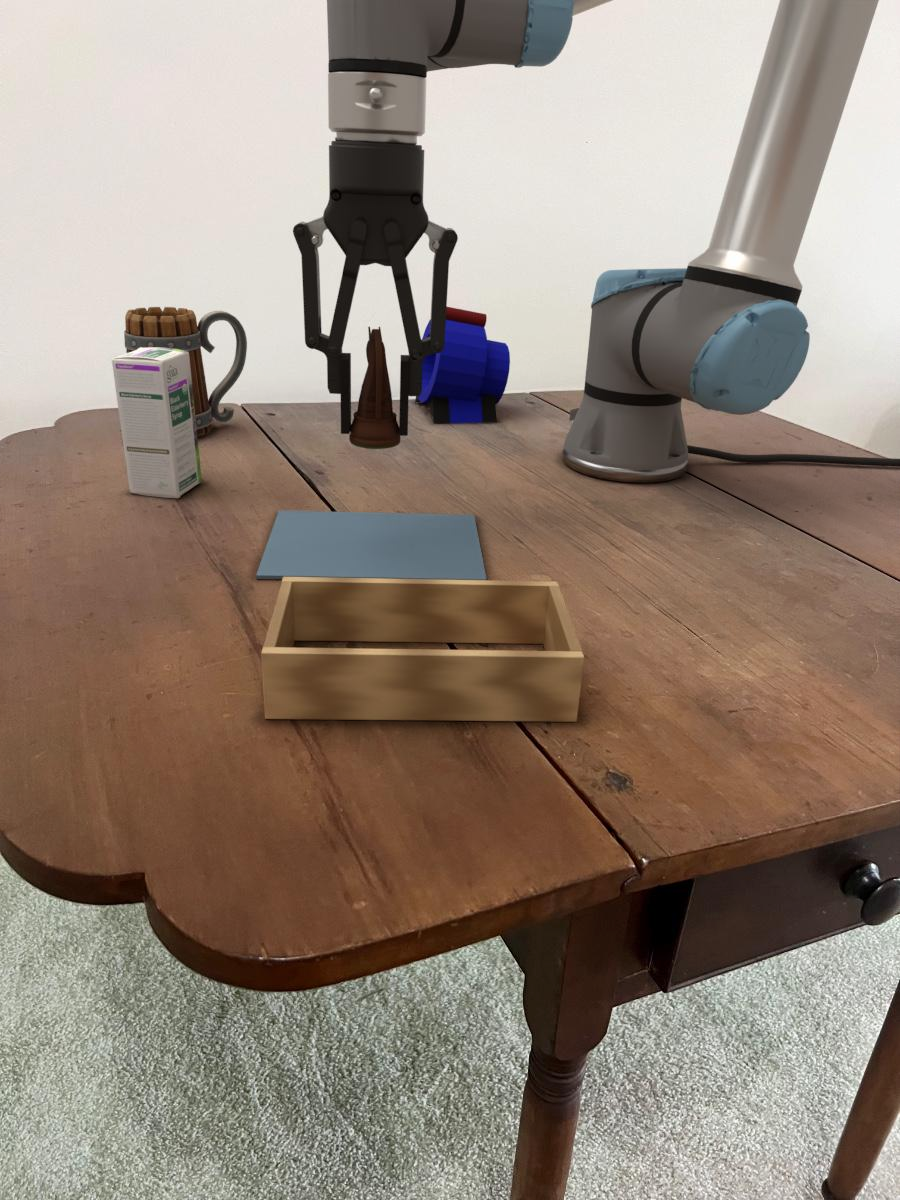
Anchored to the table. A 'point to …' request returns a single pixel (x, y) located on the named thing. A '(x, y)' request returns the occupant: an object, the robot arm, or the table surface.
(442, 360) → the alarm clock
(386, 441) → the chess piece
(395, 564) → the mat
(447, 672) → the pine box
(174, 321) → the mug
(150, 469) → the syrup box
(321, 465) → the table surface
